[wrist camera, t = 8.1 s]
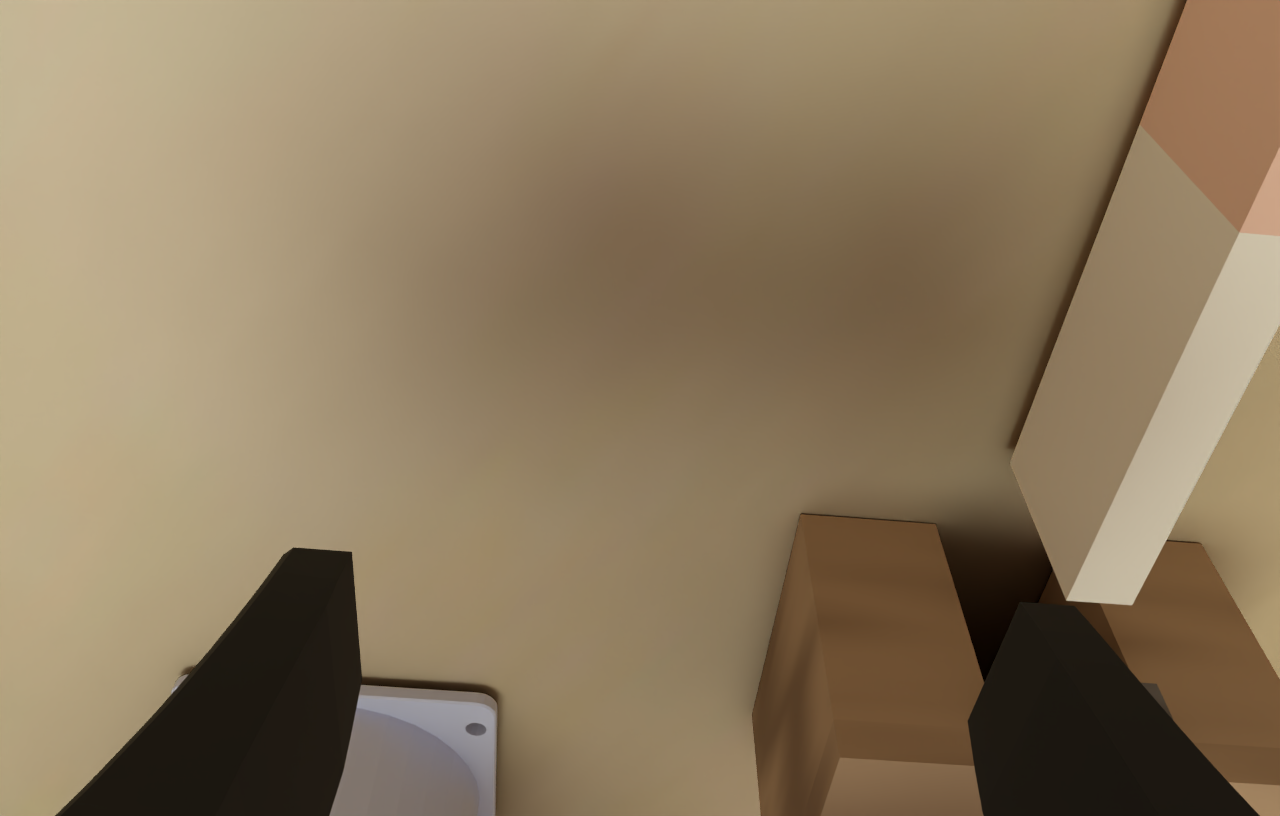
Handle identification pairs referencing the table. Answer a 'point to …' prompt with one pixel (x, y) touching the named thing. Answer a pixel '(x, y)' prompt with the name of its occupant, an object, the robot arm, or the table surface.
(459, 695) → the robot arm
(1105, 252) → the pink flat bar
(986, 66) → the table surface
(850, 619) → the dispenser
